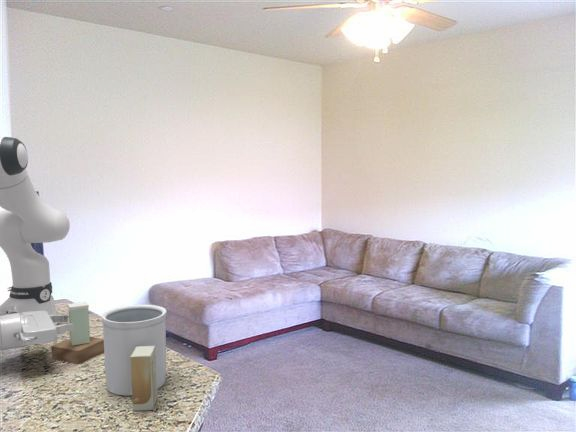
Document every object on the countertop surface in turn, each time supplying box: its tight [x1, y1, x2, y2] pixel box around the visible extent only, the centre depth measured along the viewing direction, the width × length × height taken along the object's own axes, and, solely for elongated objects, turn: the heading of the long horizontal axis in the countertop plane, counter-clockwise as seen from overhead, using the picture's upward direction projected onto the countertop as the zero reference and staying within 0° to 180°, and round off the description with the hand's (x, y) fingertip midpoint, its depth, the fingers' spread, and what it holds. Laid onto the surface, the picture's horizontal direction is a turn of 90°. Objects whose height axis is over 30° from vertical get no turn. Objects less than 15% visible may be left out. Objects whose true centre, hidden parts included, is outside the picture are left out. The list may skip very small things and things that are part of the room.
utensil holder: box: [101, 304, 168, 396], centre depth 120 cm, size 15×15×18 cm
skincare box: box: [130, 346, 158, 412], centre depth 110 cm, size 6×4×12 cm
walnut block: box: [50, 336, 104, 365], centre depth 140 cm, size 10×10×4 cm
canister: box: [67, 301, 91, 346], centre depth 140 cm, size 5×5×11 cm
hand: (70, 321), depth 139 cm, fingers open, 8 cm apart
